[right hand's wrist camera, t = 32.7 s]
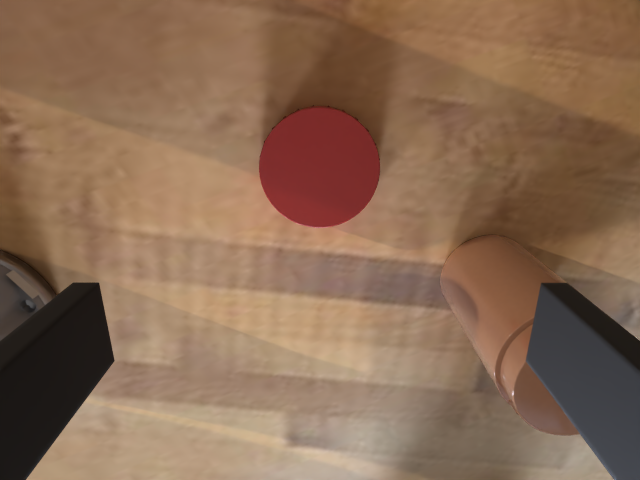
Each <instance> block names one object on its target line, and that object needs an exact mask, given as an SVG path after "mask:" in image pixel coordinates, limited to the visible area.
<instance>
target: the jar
mask: <svg viewBox="0 0 640 480" xmlns="http://www.w3.org/2000/svg"><path fill="white" fill-rule="evenodd" d="M541 283H567V282H566V281H564V280H563V279H562V278H561V277H559V276H558V275H557V274H556V273H554V272H553V271H552V270H551V269H549V268H548V267H547V266H546V265H544V264H543V263H542V262H541V261H539V260H538V259H537V258H536V257H534V256H533V255H532V254H531V253H529V252H528V251H527V250H526V249H524V248H523V247H522V246H521V245H519V244H518V243H517V242H515V241H513V240H512V239H509V238H507V237H503V236H498V235H485V236H480V237H476V238H473V239H471V240H469V241H467V242H465V243H463V244H462V245H460V246H459V247H458V248H456V249H455V250H454V251H453V252H452V253H451V255H450V256H449V257H448V259H447V260H446V262H445V264H444V266H443V269H442V272H441V278H440V286H441V291H442V294H443V296H444V298H445V300H446V302H447V303H448V305H449V307H450V308H451V310H452V312H453V314H454V315H455V317H456V319H457V320H458V322H459V324H460V326H461V327H462V329H463V331H464V332H465V334H466V336H467V338H468V339H469V341H470V343H471V344H472V346H473V348H474V350H475V351H476V353H477V355H478V356H479V358H480V360H481V361H482V363H483V365H484V367H485V368H486V370H487V372H488V373H489V375H490V377H491V379H492V380H493V382H494V384H495V385H496V387H497V389H498V391H499V392H500V394H501V395H502V397H503V398H504V399H505V400H506V401H507V402H508V403H509V404H510V405H511V406H512V407H513V408H514V410H515V411H516V413H517V414H518V415H520V416H521V418H522V419H523V420H524V421H525V422H526V423H527V424H529V425H530V426H532V427H533V428H535V429H537V430H539V431H542V432H545V433H549V434H553V435H579V434H580V433H579V432H578V430H577V429H576V428H575V426H574V425H573V424H572V422H571V421H570V420H569V418H568V417H567V416H566V414H565V413H564V412H563V410H562V409H561V408H560V406H559V405H558V404H557V402H556V401H555V400H554V398H553V397H552V396H551V394H550V393H549V392H548V390H547V389H546V388H545V386H544V385H543V384H542V382H541V381H540V380H539V378H538V377H537V375H536V374H535V373H534V371H533V370H532V369H531V367H530V366H529V365H528V363H527V362H526V356H527V351H528V346H529V341H530V336H531V331H532V326H533V321H534V316H535V311H536V306H537V301H538V296H539V291H540V286H541ZM570 286H571V285H570ZM575 290H576V289H575ZM580 294H581V293H580ZM585 298H586V297H585ZM590 302H591V301H590ZM595 306H596V305H595ZM600 310H601V309H600ZM605 314H606V313H605ZM610 318H611V317H610Z"/></svg>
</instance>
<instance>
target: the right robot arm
mask: <svg viewBox="0 0 640 480" xmlns="http://www.w3.org/2000/svg"><path fill="white" fill-rule="evenodd" d="M113 362H114V356H113V351H112V346H111V341H110V336H109V331H108V326H107V321H106V316H105V311H104V306H103V301H102V296H101V291H100V286H99V283H72V284H71V285H70V286H68V287H67V288H66V289H65V290H63V291H62V292H61V293H60V294H58V295H57V296H56V294H55V293H54V291H53V290H52V288H51V287H50V286H49V284H48V283H47V282H46V281H45V280H44V279H43V278H42V277H41V276H40V275H39V274H38V273H37V272H36V271H35V270H34V269H33V268H31V267H30V266H29V265H27V264H26V263H24V262H23V261H21V260H20V259H18V258H16V257H14V256H12V255H10V254H8V253H6V252H3V251H1V250H0V480H26V479H27V477H28V476H29V475H30V473H31V472H32V471H33V469H34V468H35V467H36V465H37V464H38V463H39V461H40V460H41V459H42V457H43V456H44V455H45V453H46V452H47V451H48V449H49V448H50V447H51V445H52V444H53V443H54V441H55V440H56V438H57V437H58V436H59V434H60V433H61V432H62V430H63V429H64V428H65V426H66V425H67V424H68V422H69V421H70V420H71V418H72V417H73V416H74V414H75V413H76V412H77V410H78V409H79V408H80V406H81V405H82V404H83V402H84V401H85V400H86V398H87V397H88V396H89V394H90V393H91V392H92V390H93V389H94V388H95V386H96V385H97V384H98V382H99V381H100V380H101V378H102V377H103V375H104V374H105V373H106V371H107V370H108V369H109V367H110V366H111V365H112V363H113ZM526 362H527V363H528V365H529V366H530V367H531V369H532V370H533V371H534V373H535V374H536V375H537V377H538V378H539V380H540V381H541V382H542V384H543V385H544V386H545V388H546V389H547V390H548V392H549V393H550V394H551V396H552V397H553V398H554V400H555V401H556V402H557V404H558V405H559V406H560V408H561V409H562V410H563V412H564V413H565V414H566V416H567V417H568V418H569V420H570V421H571V422H572V424H573V425H574V426H575V428H576V429H577V430H578V432H579V433H580V434H581V436H582V437H583V438H584V440H585V441H586V443H587V444H588V445H589V447H590V448H591V449H592V451H593V452H594V453H595V455H596V456H597V457H598V459H599V460H600V461H601V463H602V464H603V465H604V467H605V468H606V469H607V471H608V472H609V473H610V475H611V476H612V477H613V479H614V480H640V341H639V340H638V339H637V338H635V337H634V336H633V335H632V334H630V333H629V332H628V331H627V330H625V329H624V328H623V327H622V326H620V325H619V324H618V323H617V322H615V321H614V320H613V319H612V318H610V317H609V316H608V315H607V314H605V313H604V312H603V311H602V310H600V309H599V308H598V307H597V306H595V305H594V304H593V303H592V302H590V301H589V300H588V299H587V298H585V297H584V296H583V295H582V294H580V293H579V292H578V291H577V290H575V289H574V288H573V287H572V286H570V285H569V284H568V283H541V286H540V291H539V296H538V301H537V306H536V311H535V316H534V321H533V326H532V331H531V336H530V341H529V346H528V351H527V356H526Z"/></svg>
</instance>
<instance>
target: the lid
mask: <svg viewBox="0 0 640 480" xmlns="http://www.w3.org/2000/svg"><path fill="white" fill-rule="evenodd" d="M379 160H380V159H379V155H378V151H377V148H376V144H375V143H374V141H373V139H372V137H371V135H370V134H369V131H368V130H367V129H365V127H364V126H363V125H362V124H361V123H360V122H359V121H358V119H357V118H354V117H352V116H351V115H349V114H347V113H346V112H345V111H344V110H342V111H341V110H339V109H336V108H332V107H329V106H328V107H326V106H314V105H313V106H312V107H307V108H303V109H300V110H299V109H298V110H297V111H296V112H293V113H291V114H290V115H288V116H287V117H286V116H285V117H284V118H283V120H282V121H281V122H280V123H278V124H277V125H276V126H275V127H273V128H272V131H271V133H270V134H269V136H268V137H267V139H266V140H265V141H264V145H263V148H262V151H261V155H260V162H259V172H260V179H261V184H262V187H263V189H264V192H265V194H266V196H267V198H268V199H269V201H270V202H271V204H272V205H273V206H274V207H275V208H276V210H277V211H279V212H280V213H281V214H282V215H283V216H285V217H286V218H288V219H289V220H291V221H293V222H295V223H298V224H301V225H304V226H308V227H317V228H321V227H331V226H335V225H339V224H341V223H344V222H346V221H348V220H350V219H351V218H353V217H354V216H356V215H357V214H358V213H360V212H361V211H362V210H363V209H364V208H365V206H366V205H367V204H368V203H369V201H370V200H371V198H372V196H373V194H374V192H375V190H376V187H377V184H378V180H379V175H380V162H379Z"/></svg>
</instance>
